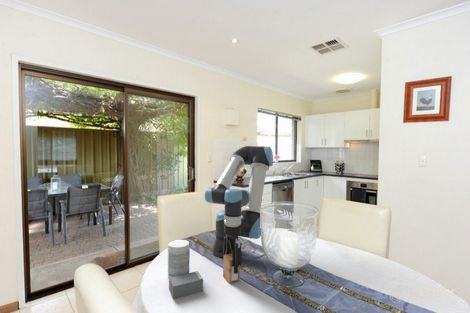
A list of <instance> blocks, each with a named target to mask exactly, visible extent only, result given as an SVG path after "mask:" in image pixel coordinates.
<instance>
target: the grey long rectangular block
mask: <svg viewBox="0 0 470 313" xmlns="http://www.w3.org/2000/svg"><path fill="white" fill-rule="evenodd" d="M168 279H169V280H168V290H169V292H170V295H171V298H172V300H176V299H179V298H184V297H187V296H190V295H194V294H198V293H201V292H203V291H204V278H203V277H202V275H201V274H200V272H199V271H192V272H189V273H187V274H182V275H178V276H173V277H168Z"/></svg>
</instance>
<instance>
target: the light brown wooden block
mask: <svg viewBox="0 0 470 313" xmlns="http://www.w3.org/2000/svg"><path fill="white" fill-rule="evenodd" d="M231 265H233V261H232V253H230V254H225V255H224V258H223V265H222V268H223V269H222V273H223V274H222V277H223V278H224V279H225V281H226V282H227V283H228V284H231V283H237V282H239V281H240V266H238V280H234V281H232V280H231V276H232V266H231Z"/></svg>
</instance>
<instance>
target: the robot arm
mask: <svg viewBox="0 0 470 313" xmlns="http://www.w3.org/2000/svg"><path fill="white" fill-rule="evenodd" d="M273 154H274V153H273V150H272V147H270V146H266V145H264V146H257V145H255V146H253V145H245V146H242V147H240V148H239V149H237V150H236V151H235V152H233V153H232V154H231V156H230V157H229V162H228V164H227V166H226V167H225V169H224V171H223V172H222V173H221V175H220V177H219V178H218V179H217V181H216V183H215V184H214V186H213V187H207V188H206V190H205V192H204V200H205V202H206V203H209V204H210V203H211V204H216V205H224V210H220V211H218V212H217V213H216V216H215V237H214V238H215V239H214V242H213V244H212V246H211V247H212V248H211V253H212V255H214V256H215V257H218V258H223V259H224V255H225V254H230V253H232V261H233V265H231V266H232V276H231V280H232V281H234V280H238V266H242V247H243V246H242V245H243V244H242V242H239V237H241V238H247V239H251V240H252V239H253V240H258V239H260V238H261V236H262V235H261V228H260V211H261V208H262V201H263V195H264V187H265V181H266V175H267V171H269V170H270V167H273V165H274V155H273ZM246 165H247V166H248V165H249V167H250V169H251V171H250V172H251V173H250V179H249V184H248V189H239V188H232V187H231V186H232V185H233V183H234V182H235V180H236V177H237V176H238V174H239V172H240V170H241V169H242V168H244V167H245V166H246Z"/></svg>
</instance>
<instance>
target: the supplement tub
mask: <svg viewBox="0 0 470 313" xmlns="http://www.w3.org/2000/svg"><path fill="white" fill-rule="evenodd" d="M167 245H168V247H167V277H168V278H169V277H173V276H178V275H182V274H187V273H190V259H191V258H190V257H191V256H190V255H191V254H190V253H191V252H190V251H191V249H190V242H189V241H188V240H186V239H175V240H172V241H170V242H168V244H167Z"/></svg>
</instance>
